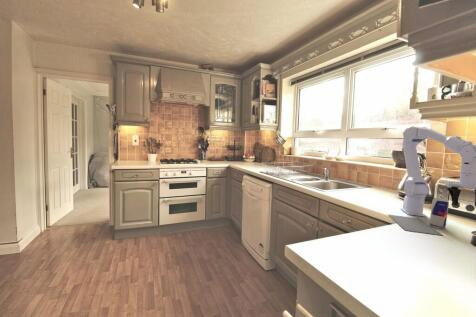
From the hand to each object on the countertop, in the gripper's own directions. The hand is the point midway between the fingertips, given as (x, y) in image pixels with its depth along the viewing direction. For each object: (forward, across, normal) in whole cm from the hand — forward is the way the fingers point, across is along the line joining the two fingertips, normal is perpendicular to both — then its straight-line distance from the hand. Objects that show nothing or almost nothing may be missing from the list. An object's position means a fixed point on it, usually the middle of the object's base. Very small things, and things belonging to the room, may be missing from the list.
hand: (465, 205), depth 97 cm
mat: (+10, -18, -1) cm, 21 cm away
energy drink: (+11, -9, 0) cm, 14 cm away
